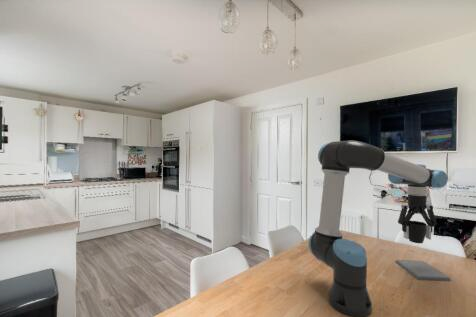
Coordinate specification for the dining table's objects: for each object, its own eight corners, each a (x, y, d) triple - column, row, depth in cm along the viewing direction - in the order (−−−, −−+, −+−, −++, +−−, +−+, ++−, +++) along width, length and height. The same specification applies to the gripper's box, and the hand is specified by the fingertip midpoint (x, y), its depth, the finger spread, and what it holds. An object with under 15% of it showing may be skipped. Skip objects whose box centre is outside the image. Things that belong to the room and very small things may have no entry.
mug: (433, 241, 117) (433, 222, 117) (421, 245, 112) (421, 225, 112) (415, 236, 124) (415, 219, 124) (402, 240, 119) (402, 221, 119)
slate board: (450, 280, 107) (450, 278, 107) (418, 279, 109) (418, 276, 109) (423, 263, 125) (423, 260, 125) (395, 262, 126) (395, 259, 126)
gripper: (434, 193, 121) (435, 236, 121) (389, 193, 122) (389, 235, 122) (446, 195, 113) (446, 241, 113) (398, 195, 115) (398, 240, 115)
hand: (417, 238), depth 118 cm, fingers closed on mug, 10 cm apart
